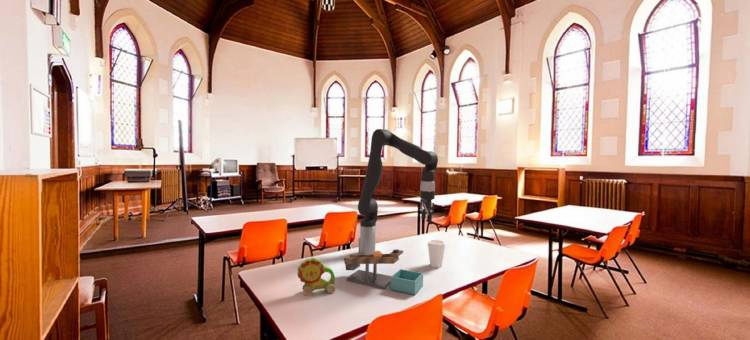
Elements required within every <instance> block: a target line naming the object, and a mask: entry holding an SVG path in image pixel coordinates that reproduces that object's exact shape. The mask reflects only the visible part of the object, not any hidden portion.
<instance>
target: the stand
mask: <svg viewBox="0 0 750 340" xmlns="http://www.w3.org/2000/svg"><path fill="white" fill-rule="evenodd" d="M377 265H378V264H372V266H373V268H372V270H373V271H370V264H369V262H366V264H365V266H364V267H365V270H362V269H357V270H356V271H354V272H353V273H351V274H350V275H348V276H347V277H346V278H345V279H346V282H349V281H350V283H355V284H360V285H362V286H363V285H364V286H369V287H372V288H378V289H382V290H386V289H387V288H388V287H389V286H391V277H392V276H393V275H387V274H383V273H378V271H377V268H378V266H377Z"/></svg>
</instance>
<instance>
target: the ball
mask: <svg viewBox="0 0 750 340" xmlns="http://www.w3.org/2000/svg"><path fill="white" fill-rule="evenodd" d="M382 254H383V252H382V251H380V250H375V252H374V257H382Z"/></svg>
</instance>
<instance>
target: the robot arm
mask: <svg viewBox="0 0 750 340" xmlns="http://www.w3.org/2000/svg"><path fill="white" fill-rule="evenodd" d="M383 146H387V147H392V148H395V149H397V150H398V151H400V152H401V153H402V154H403V155H405V156H407V157H409V158H411V159H414V160H415V161H417V162H418V163H419V164H421V165H424V169H423V170H421V175H420V176H421V177H420V186H419V187H420V189H419V200H420V201H419V202H420V204H419V210H420V212H421V217H420V218H421V219H422V220H426V223H430V224H431V223H432V221H433V216H434V215H435V203H434V202H432V200H435V198H436V196H435V193H436V171H437V167H438V162H439V158H438V157H439V156H438V154H437V153H436V152H435V151H432V150H431V151H428V150H424V149H422V147H420V146H419V145H417V144H414V143H412V142H409V141H407V140H406V139H405V140H404V139H402V138H400V137H399V136H397V135H396V134H394V133H393V132H392V131H390V130H388V129H385V128H383V129H382V128H377V129H375V130H373V133H372V135H371V143H370V151H369V156H368V162H367V167H366V171H365V172H366V173H365V177H364V182H363V185H362V191H361V193H360V197H359V199H358V204H357V211H358V213H359V215H362V216H364V217H363V218H362V219H361V220H360V221H359V224H360V225H359V226H360V229H359V238H358V254H374V252H375V251H376V233H377V232H376V228H377V227H376V225H377V221H378V213H379V210H378V209H379V207H378V206H379V205H378V202H377V200H376V199H375V198H372V196H373V193H374V192H375V190H376V188H378V186H379V184H380V182H381V180H382V176H383V170H384V167H383V161H382V150H383ZM358 254H357V255H358Z"/></svg>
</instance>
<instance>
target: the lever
mask: <svg viewBox="0 0 750 340" xmlns="http://www.w3.org/2000/svg"><path fill="white" fill-rule="evenodd" d="M402 254H404V250H399V248H398V249H392V251H391V252H390V253H382V257H374V254H349V257H344V258H343V263H344V265H345V271H355V270H358V268H359V267H361V265H366V262H369V265H373V264H377V265H385V264H387V265H389V264H391V265H394V264H395V263H396V262H398V261H400V258H399V257H400V256H401V255H402Z"/></svg>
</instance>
